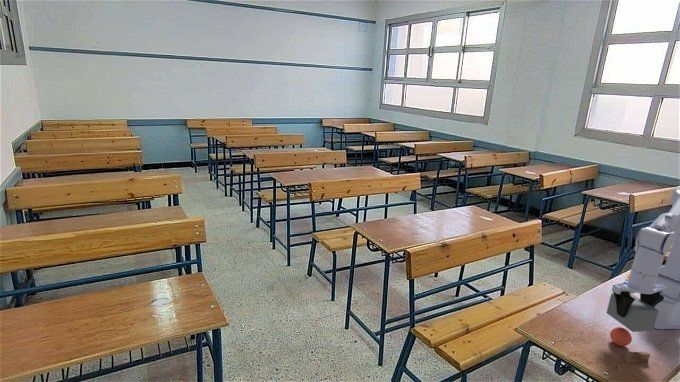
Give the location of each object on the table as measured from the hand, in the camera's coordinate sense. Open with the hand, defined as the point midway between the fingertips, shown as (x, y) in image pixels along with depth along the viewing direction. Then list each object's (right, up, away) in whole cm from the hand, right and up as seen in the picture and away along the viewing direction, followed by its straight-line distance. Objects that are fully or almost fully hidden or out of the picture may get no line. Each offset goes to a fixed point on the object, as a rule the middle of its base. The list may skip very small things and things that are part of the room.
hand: (631, 315), depth 106 cm
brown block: (-1, -11, -3) cm, 12 cm away
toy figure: (+21, -4, +29) cm, 36 cm away
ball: (-1, -7, +3) cm, 8 cm away
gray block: (0, -2, +1) cm, 2 cm away
